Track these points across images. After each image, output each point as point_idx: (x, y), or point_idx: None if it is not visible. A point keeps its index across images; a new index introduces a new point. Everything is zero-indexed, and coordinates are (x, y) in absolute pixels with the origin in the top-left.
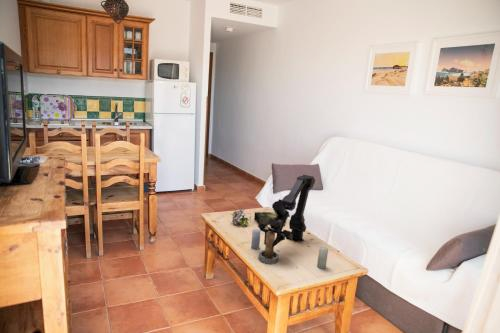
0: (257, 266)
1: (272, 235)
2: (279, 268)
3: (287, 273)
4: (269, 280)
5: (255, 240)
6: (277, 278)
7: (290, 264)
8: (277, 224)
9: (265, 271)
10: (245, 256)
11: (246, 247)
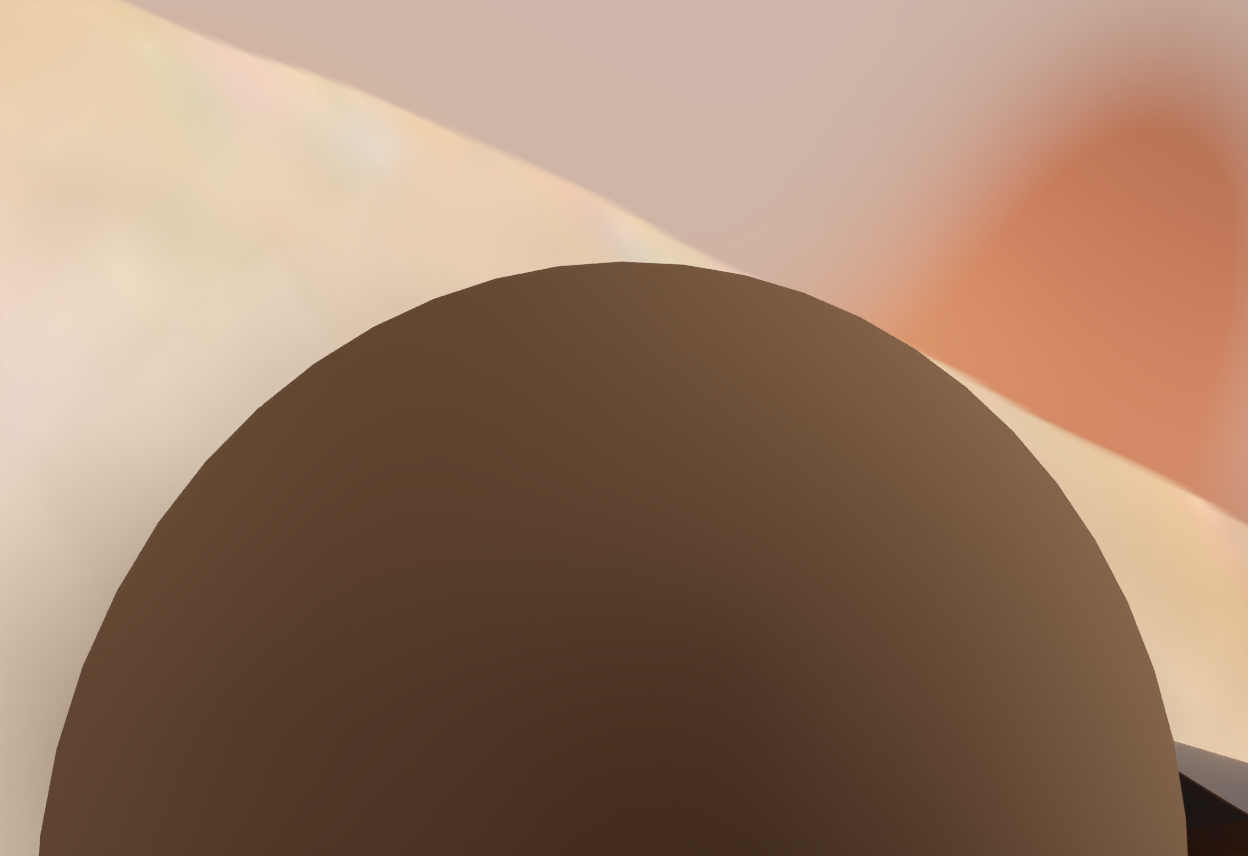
0: (562, 230)
1: (226, 504)
2: (218, 442)
3: (3, 394)
4: (167, 23)
5: (1244, 802)
6: (85, 144)
7: None
8: None
9: (365, 190)
10: (932, 360)
11: (1191, 667)
